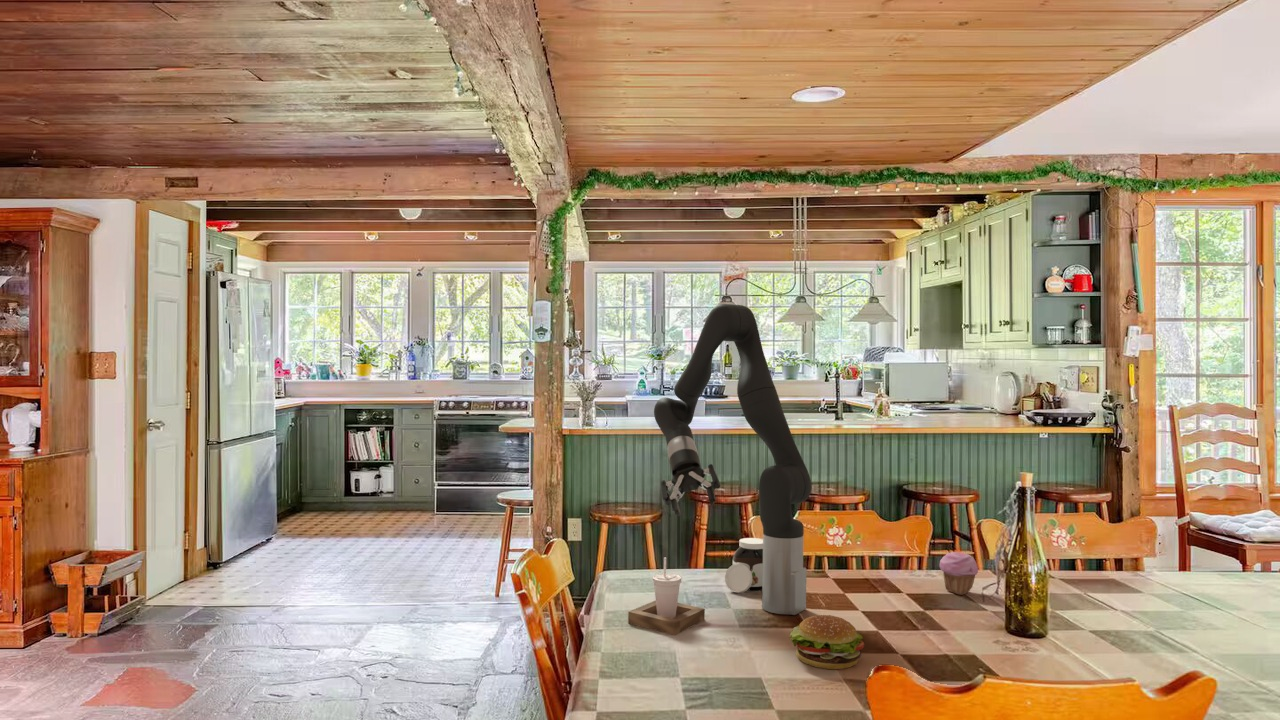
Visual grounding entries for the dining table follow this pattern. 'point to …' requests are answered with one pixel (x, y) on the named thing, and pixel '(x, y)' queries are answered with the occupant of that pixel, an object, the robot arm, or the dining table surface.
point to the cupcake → (958, 572)
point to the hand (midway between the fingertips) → (695, 508)
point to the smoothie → (666, 593)
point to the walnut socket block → (666, 618)
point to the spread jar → (746, 566)
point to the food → (827, 642)
